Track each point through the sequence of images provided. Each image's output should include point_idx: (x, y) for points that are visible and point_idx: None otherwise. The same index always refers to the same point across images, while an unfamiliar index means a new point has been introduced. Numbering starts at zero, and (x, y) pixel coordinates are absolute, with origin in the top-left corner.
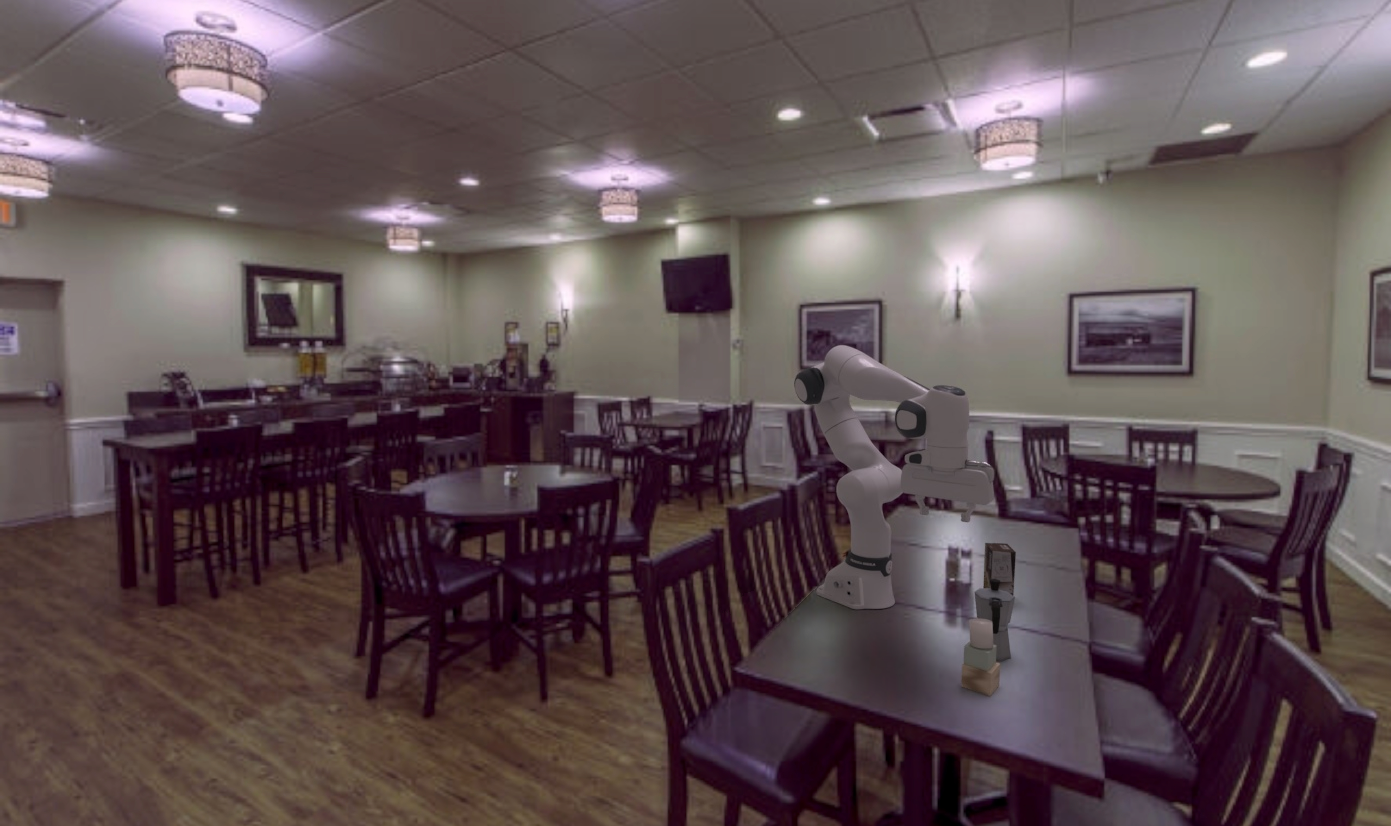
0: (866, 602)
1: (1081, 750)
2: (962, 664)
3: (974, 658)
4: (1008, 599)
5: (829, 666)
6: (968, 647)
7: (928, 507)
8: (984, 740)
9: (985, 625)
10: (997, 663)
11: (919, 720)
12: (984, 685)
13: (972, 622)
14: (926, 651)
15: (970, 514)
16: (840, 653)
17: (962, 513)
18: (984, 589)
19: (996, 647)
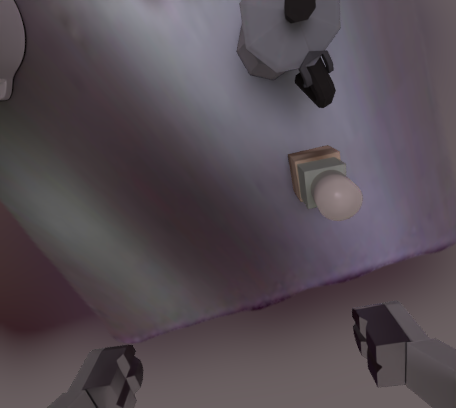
0: (3, 74)
1: (451, 207)
2: (300, 200)
3: None
4: (336, 25)
5: (161, 275)
6: (315, 207)
7: (114, 389)
8: (365, 266)
9: (355, 212)
10: (336, 155)
11: (300, 285)
12: None
13: (330, 217)
14: (201, 138)
15: (425, 333)
16: (140, 242)
17: (380, 373)
18: (263, 20)
19: (344, 163)
